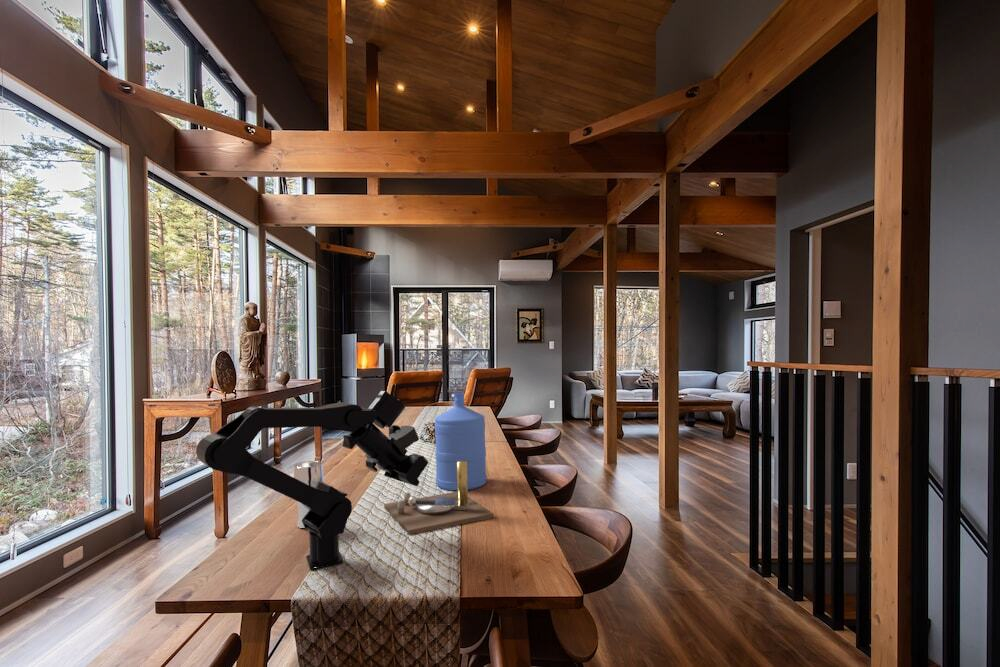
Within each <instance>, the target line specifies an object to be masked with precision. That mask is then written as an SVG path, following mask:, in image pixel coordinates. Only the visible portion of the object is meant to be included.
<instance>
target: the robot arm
mask: <svg viewBox="0 0 1000 667" xmlns="http://www.w3.org/2000/svg"><path fill="white" fill-rule="evenodd" d="M405 409H406V405H405V404H404V403H403V402H402V400H401V399H398V398H397V397H395V396H394V395H392V394H390V393H389V392H388V391H387V390H380V392H379V393H378V394H377V396H376V398H375V399H374V400H373V402H371V404H370V405H369V406H368V407H363V406H360V405H358V404H353V403H348V402H343V401H342V402H335V403H329V404H326V405H322V406H315V407H258V406H254V405H253V406H249V407H248V408H245V410H244V411H243V412H241V413H240V414H239V415H238V416H236V417H234V419H232V420H231V421H228V423H226V424H224V425H223V426H222V427H220V428H219V429H218V430H217V431H216V432H215V433H210V434H208V435H205V436H204V437H202V439H200V441H199V442H198V444H197V445H196V448H195V453H196V454H195V455H196V458H197V459H198V461H200V462H201V463H202V464H204V465H206V466H207V467H209V468H210V469H212V470H215V471H219V472H222V473H225V474H229V475H234V476H238V477H239V476H240V477H245V478H248V479H250V480H251V481H254V482H256V483H258V484H261V485H262V486H264V487H266V488H268V489H271V490H273V491H275V492H277V493H280V494H281V495H283V496H286V497H287V498H290V499H292V500H294V501H296V502H297V501H298V502H300V503H302V504H303V505H304V506H305V507H306V508H307V509H309V511H308V513H307V514H306V515H305V517H304V518H303V519H302V523H303V525H304V528H305V529H304V530H308V531H309V532H308V533H309V534H308V537H309V538H308V539H309V540H308V542H309V554H307V555H305V558H306V562H307V565H308V567H309V570H313V569H312V568H314V567H321V568H323V567H322V566H325V567H328V566H327V565H330V566H334V564H335V565H338V564H343V563H344V558H343V556H342V554H341V552H340V544H339V542H340V541H339V540H340V538H339V537H340V535H341V534H344V533H345V530H346V525H347V523H348V519H349V518H350V516H351V514H352V511H353V510H352V509H353V507H352V506H353V505H352V501H351V500H350V499H349V498H348V497H347V496H348V493H346V492H344V491H342V490H340V489H337V488H335V487H334V486H332V485H331V484H330V485H329V484H327V483H325V482H324V483H323V482H321V481H319V484H318V486H317V487H313V486H309V485H307V484H305V483H303V482H301V481H299V480H297V479H295V478H294V476H291V475H289V474H287V473H285V472H284V471H282V470H279V469H278V468H275V467H273V466H271V465H269V464H267V463H265V462H264V461H261V460H259V459H258V458H256V457H255V456H254V455H253V454H252V453H251V452H250V451H249V450H247V448H248V447H250V445H251V444H252V442H253V441H254V440H255V439H256V437H257V436H258V434H260V432H261V431H262V430H263V429H270V428H271V429H272V428H273V429H275V428H276V429H277V428H279V429H280V428H314V427H315V428H318V427H319V428H321V427H322V428H326V429H331V430H337V431H344V432H348V434H344V435H343V440H342V441H343V442H342V443H343V444H342V447H343V448H346V449H349V450H353V449H354V448H355V446H356V447H358V448H359V449H360V450H361V451H362V452H363V453H364V454H365V455H364V457H366V458H367V459H366V460H365V466H366V468H367V469H369V471H370V472H374V473H377V472H378V471H379V470H381V471H383V472H384V474H383V475H384V476H385V477H386V478H390V479H393V480H396V481H398V482H400V483H401V482H402V483H405V484H407V485H411V486H414V487H418V486H419V484H420V480H419V478H420V477H421V474H422V473H423V471H424V470H425V468H426V467H428V465H429V460H428V459H427V458H426V457H425V456H424V455H421V454H417V453H412V454H409V455H407V452H408V450H407V448H409V447H410V446H411V445H413V444H414V443H416V442H418V441H419V440H420V438H419V435H418V432H417V430H416V428H415V426H410V425H400V426H399V425H398V424H395V422H396V421H397V419H398V418H399V417H400V415H401V414H402V413H403V411H404V410H405ZM379 428H380V429H379ZM385 428H387V429H388V436H387V435H386V434H384V433H383V431H381V429H385ZM378 469H379V470H378Z"/></svg>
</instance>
